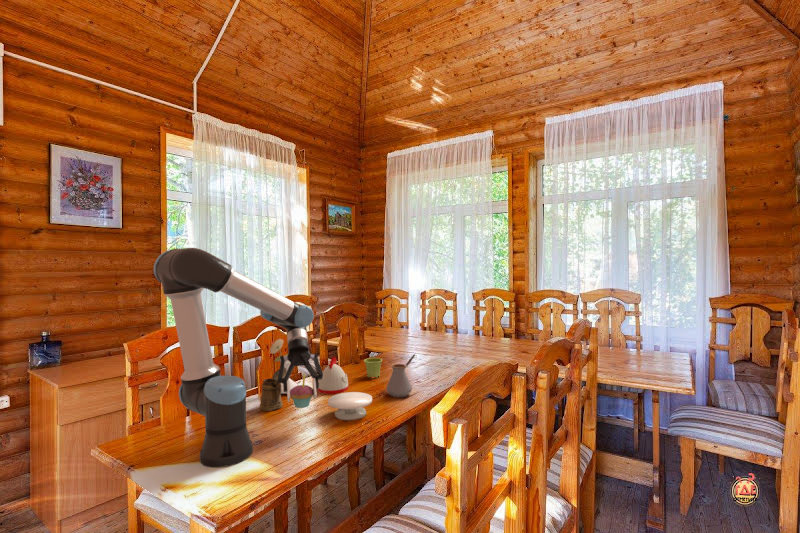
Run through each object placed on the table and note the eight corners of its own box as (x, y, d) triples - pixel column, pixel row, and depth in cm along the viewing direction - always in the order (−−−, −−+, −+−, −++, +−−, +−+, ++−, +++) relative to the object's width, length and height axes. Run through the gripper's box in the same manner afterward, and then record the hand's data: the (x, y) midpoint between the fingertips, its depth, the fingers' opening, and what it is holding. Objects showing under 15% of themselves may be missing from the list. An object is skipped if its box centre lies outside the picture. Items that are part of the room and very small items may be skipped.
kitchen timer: (352, 385, 198) (351, 354, 198) (343, 394, 185) (342, 361, 185) (324, 384, 201) (323, 353, 201) (313, 393, 187) (312, 360, 187)
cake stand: (360, 425, 149) (360, 408, 149) (319, 419, 155) (319, 403, 155) (379, 409, 165) (379, 394, 165) (342, 404, 171) (341, 390, 171)
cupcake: (318, 405, 145) (318, 371, 146) (298, 411, 139) (297, 376, 139) (304, 400, 151) (304, 367, 151) (284, 406, 145) (284, 372, 145)
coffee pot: (404, 400, 175) (403, 365, 175) (381, 396, 181) (380, 362, 181) (426, 387, 194) (426, 355, 193) (405, 383, 199) (404, 352, 199)
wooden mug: (274, 415, 161) (273, 369, 161) (255, 408, 169) (254, 364, 169) (293, 409, 168) (292, 364, 167) (274, 402, 176) (273, 360, 176)
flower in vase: (291, 386, 198) (290, 334, 198) (304, 391, 190) (302, 337, 190) (265, 393, 189) (264, 338, 189) (277, 398, 181) (276, 341, 181)
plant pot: (382, 379, 208) (381, 362, 208) (363, 379, 208) (363, 362, 208) (383, 374, 217) (382, 357, 217) (365, 374, 218) (364, 358, 218)
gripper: (324, 347, 163) (331, 400, 148) (268, 351, 157) (270, 407, 141) (326, 335, 158) (334, 389, 143) (269, 339, 152) (270, 395, 136)
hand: (302, 398), depth 142 cm, fingers closed on cupcake, 8 cm apart
